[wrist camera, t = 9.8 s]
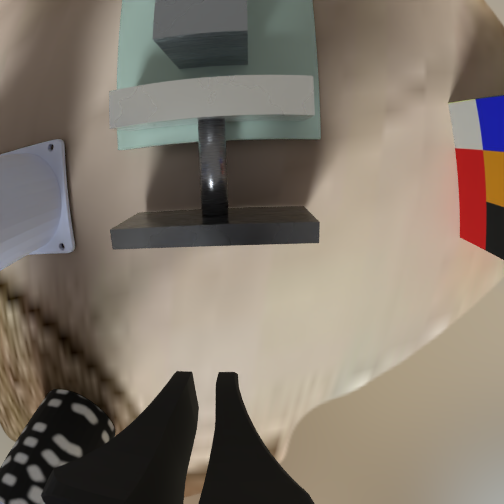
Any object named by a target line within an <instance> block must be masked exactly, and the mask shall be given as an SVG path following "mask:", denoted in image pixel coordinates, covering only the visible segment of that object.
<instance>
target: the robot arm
mask: <svg viewBox="0 0 504 504" xmlns="http://www.w3.org/2000/svg"><path fill="white" fill-rule="evenodd" d="M52 144H53V146H54V148H53V150H51V146H52ZM62 243H63V244H64V246H65V248H63V247H62ZM74 249H75V242H74V236H73V229H72V222H71V215H70V207H69V198H68V189H67V178H66V164H65V146H64V142H63V140H61V139H55V140H51V141H47V142H43V143H39V144H35V145H31V146H28V147H24V148H20V149H17V150H14V151H10V152H7V153H4V154H1V155H0V271H1V270H2V269H4V268H6V267H7V266H9V265H11V264H12V263H14V262H16V261H17V260H19V259H21V258H23V257H24V256H26V255H29V254H56V253H70V252H72V251H73V250H74ZM198 410H199V406H198V401H197V396H196V391H195V385H194V380H193V374H192V372H182V371H177V372H176V373H175V374H174V375H173V376H172V378H171V379H170V380H169V382H168V383H167V384H166V386H165V387H164V388H163V389H162V391H161V392H160V393H159V394H158V395H157V397H156V398H155V399H154V400H153V401H152V402H151V404H150V405H149V406H148V407H147V408H146V409H145V410H144V411H143V412H142V413H141V414H140V415H139V416H138V417H137V418H136V419H135V420H134V421H133V422H132V423H131V424H130V425H129V426H127V427H126V428H125V429H124V430H123V431H122V432H120V433H119V434H118V435H116V436H115V437H114V438H112V439H111V440H109V441H108V442H107V443H105V444H104V445H102V446H101V447H99V448H97V449H96V450H94V451H92V452H90V453H88V454H86V455H84V456H82V457H80V458H78V459H76V460H74V461H71V462H69V463H66V464H64V465H61V466H59V467H56V468H54V469H53V471H52V473H51V474H50V476H49V478H48V480H47V483H46V485H45V487H44V489H43V491H42V494H41V497H42V499H43V501H44V503H45V504H183V500H184V490H185V480H186V474H187V470H188V465H189V461H190V456H191V452H192V448H193V443H194V439H195V435H196V430H197V421H198ZM0 504H4V503H2V502H1V501H0ZM199 504H314V502H313V501H312V499H311V497H310V495H309V494H308V493H307V492H306V491H305V490H304V489H302V488H301V487H300V486H299V485H298V484H297V483H296V482H295V481H294V480H293V479H292V478H291V477H290V476H289V475H288V474H287V472H286V471H285V470H284V469H283V468H282V467H281V465H280V464H279V463H278V462H277V461H276V459H275V458H274V457H273V456H272V454H271V453H270V452H269V450H268V449H267V447H266V446H265V444H264V443H263V441H262V439H261V438H260V436H259V435H258V433H257V431H256V429H255V427H254V425H253V423H252V421H251V419H250V417H249V415H248V413H247V410H246V408H245V405H244V403H243V400H242V397H241V393H240V390H239V384H238V374H237V373H235V372H219V374H218V377H217V382H216V422H215V432H214V438H213V444H212V449H211V454H210V459H209V464H208V469H207V473H206V478H205V482H204V486H203V489H202V493H201V497H200V501H199Z"/></svg>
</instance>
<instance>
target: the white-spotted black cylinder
mask: <svg viewBox="0 0 504 504" xmlns="http://www.w3.org/2000/svg"><path fill="white" fill-rule="evenodd" d="M114 437H115V429H114V426H113V424H112V422H111V421H110V419H109V418H108V416H107V415H106V414H105V413H104V412H103V411H102V410H101V409H100V408H99V407H98V406H96V405H95V404H94V403H92V402H91V401H89V400H88V399H86V398H84V397H83V396H81V395H79V394H76V393H74V392H71V391H67V390H63V389H56V390H52V391H50V392H49V393H48V394H47V396H46V397H45V399H44V400H43V402H42V403H41V404H40V406H39V407H38V409H37V410H36V412H35V413H34V415H33V416H32V418H31V419H30V421H29V422H28V424H27V425H26V427H25V429H24V430H23V432H22V433H21V435H20V436H19V438H18V440H17V441H16V443H15V445H14V446H13V448H12V449H11V451H10V452H9V454H8V456H7V457H6V459H5V461H4V463H3V464H2V466H1V468H0V501H1V502H2V503H4V504H45V503H44V501H43V499H42V497H41V494H42V491H43V489H44V487H45V485H46V483H47V480H48V478H49V476H50V474H51V473H52V471H53V469H54V468H56V467H59V466H61V465H64V464H66V463H69V462H71V461H74V460H76V459H78V458H80V457H82V456H84V455H86V454H88V453H90V452H92V451H94V450H96V449H97V448H99V447H101V446H102V445H104V444H105V443H107V442H108V441H109V440H111V439H112V438H114Z"/></svg>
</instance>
